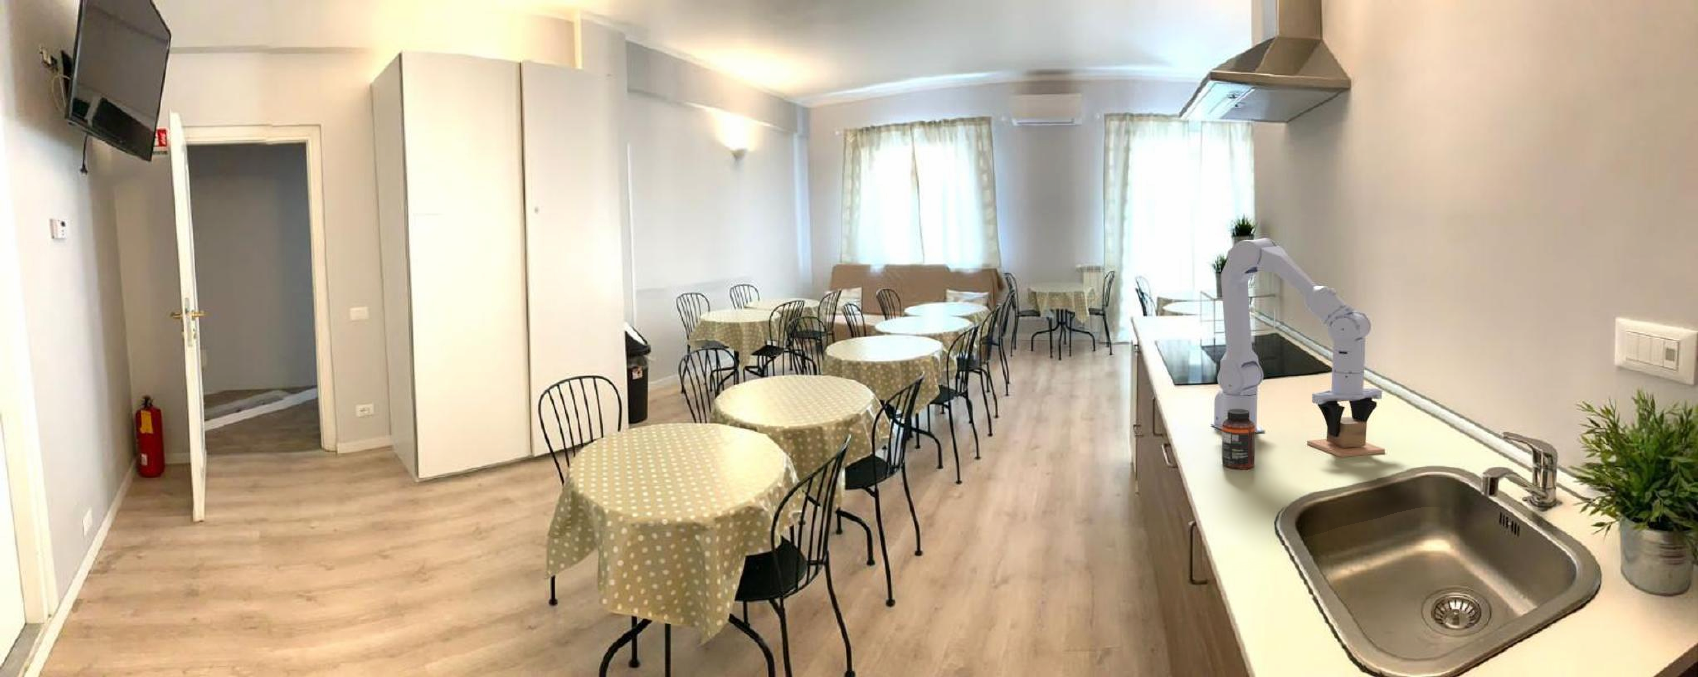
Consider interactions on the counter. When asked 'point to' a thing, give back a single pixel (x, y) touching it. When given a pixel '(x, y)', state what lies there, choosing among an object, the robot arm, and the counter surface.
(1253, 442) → the supplement bottle
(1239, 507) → the counter surface
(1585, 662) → the counter surface
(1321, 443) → the terracotta tile
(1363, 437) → the walnut cube
